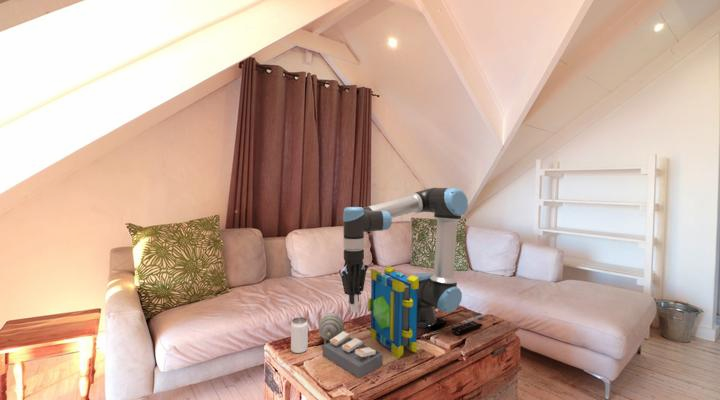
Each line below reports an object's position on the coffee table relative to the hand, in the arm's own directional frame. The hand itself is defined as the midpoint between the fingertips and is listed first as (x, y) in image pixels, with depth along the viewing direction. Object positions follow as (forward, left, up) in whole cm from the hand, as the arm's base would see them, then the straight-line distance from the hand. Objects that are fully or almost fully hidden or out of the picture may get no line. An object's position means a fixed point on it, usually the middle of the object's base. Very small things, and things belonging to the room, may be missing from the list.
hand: (354, 311), depth 122 cm
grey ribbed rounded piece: (-3, -17, -19) cm, 26 cm away
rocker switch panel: (+1, 0, -18) cm, 18 cm away
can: (+11, -20, -19) cm, 29 cm away
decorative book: (-19, +3, -19) cm, 27 cm away
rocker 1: (+1, -7, -13) cm, 14 cm away
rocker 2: (+1, 0, -13) cm, 13 cm away
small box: (+1, +7, -13) cm, 14 cm away
